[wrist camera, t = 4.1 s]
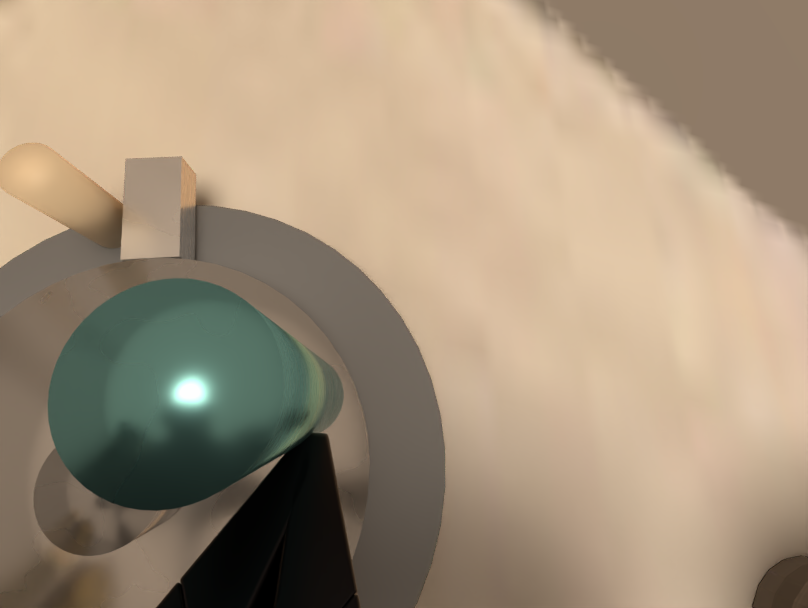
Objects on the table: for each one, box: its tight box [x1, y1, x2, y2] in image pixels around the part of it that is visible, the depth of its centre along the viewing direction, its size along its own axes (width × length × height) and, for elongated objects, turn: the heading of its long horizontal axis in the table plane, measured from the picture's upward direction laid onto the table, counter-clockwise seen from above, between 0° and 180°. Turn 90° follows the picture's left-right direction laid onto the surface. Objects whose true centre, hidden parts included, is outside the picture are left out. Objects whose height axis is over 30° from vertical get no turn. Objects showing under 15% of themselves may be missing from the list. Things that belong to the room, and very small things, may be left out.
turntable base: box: [0, 143, 445, 608], centre depth 13 cm, size 18×18×6 cm
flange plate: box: [0, 157, 370, 608], centre depth 9 cm, size 15×14×10 cm
